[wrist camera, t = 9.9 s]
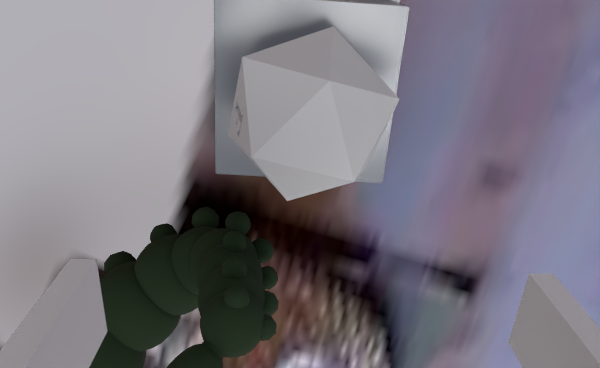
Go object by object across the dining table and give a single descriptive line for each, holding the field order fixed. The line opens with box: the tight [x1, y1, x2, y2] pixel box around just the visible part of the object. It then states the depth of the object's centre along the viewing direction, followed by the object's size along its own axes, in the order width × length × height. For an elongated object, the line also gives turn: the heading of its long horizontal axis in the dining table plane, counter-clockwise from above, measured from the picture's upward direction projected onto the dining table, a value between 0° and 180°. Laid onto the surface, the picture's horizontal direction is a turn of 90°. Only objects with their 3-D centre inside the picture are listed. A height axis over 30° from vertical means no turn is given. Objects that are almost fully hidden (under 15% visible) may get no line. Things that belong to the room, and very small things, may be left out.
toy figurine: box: [89, 207, 278, 368], centre depth 33 cm, size 10×19×26 cm
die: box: [228, 26, 400, 201], centre depth 25 cm, size 8×9×10 cm
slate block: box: [214, 0, 409, 183], centre depth 32 cm, size 12×12×6 cm
